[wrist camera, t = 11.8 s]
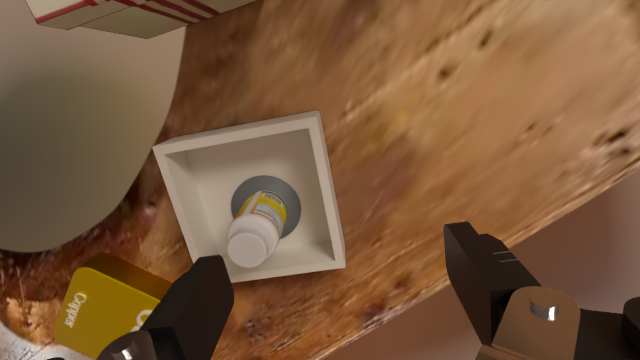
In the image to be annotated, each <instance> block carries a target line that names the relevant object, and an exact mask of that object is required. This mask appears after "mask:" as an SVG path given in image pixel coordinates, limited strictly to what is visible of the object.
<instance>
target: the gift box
mask: <svg viewBox="0 0 640 360" xmlns="http://www.w3.org/2000/svg"><path fill="white" fill-rule="evenodd" d="M25 1H26V3H27V5H28V7H29V9H30V11H31V13H32V15H33V17H34V19H35V21H36V23H37V24H39V25H42V26H47V27H53V28H59V29H66V30H69V29H72V28H75V27H78V26H81V27H86V28H92V29H97V30H102V31H107V32H113V33H118V34H124V35H129V36H135V37H139V38H144V39H148V38H152V37H155V36H158V35H161V34H164V33H166V32H169V31H172V30H175V29H178V28H181V27H183V26H186V25H189V24H194V23H197V22H200V21H203V20H206V19H208V18H211V17H213V16H216V15H219V14H221V13H223V12H226V11H229V10H232V9H234V8H237V7H240V6H243V5H246V4H248V3H251V2H254V1H256V0H25Z"/></svg>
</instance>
